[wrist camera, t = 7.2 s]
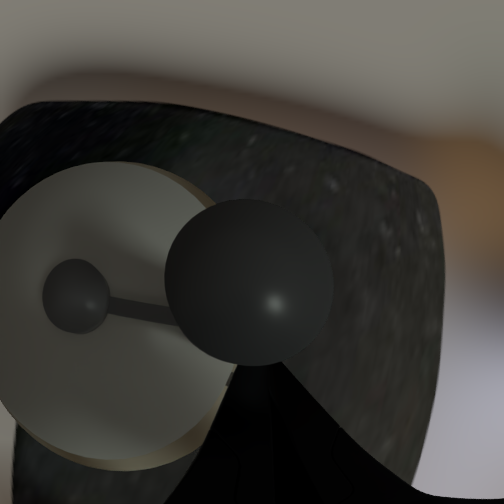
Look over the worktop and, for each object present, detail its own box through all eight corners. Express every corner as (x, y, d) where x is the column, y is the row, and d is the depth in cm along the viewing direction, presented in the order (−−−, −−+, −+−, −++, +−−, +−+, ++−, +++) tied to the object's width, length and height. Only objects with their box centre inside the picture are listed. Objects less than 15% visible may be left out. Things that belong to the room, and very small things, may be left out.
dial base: (107, 501, 9) (98, 518, 7) (-34, 284, 11) (-51, 274, 9) (312, 325, 16) (329, 320, 14) (139, 141, 18) (136, 119, 16)
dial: (154, 500, 8) (133, 614, 1) (-43, 331, 8) (-139, 295, 1) (288, 256, 14) (380, 154, 7) (80, 143, 14) (48, 32, 7)
